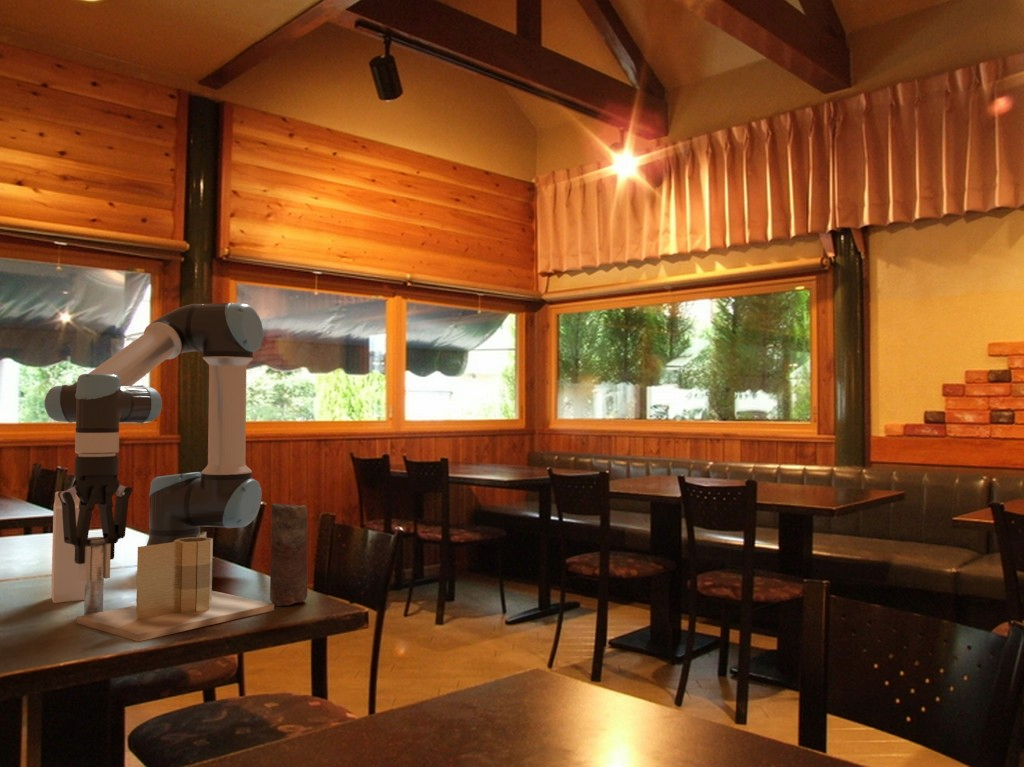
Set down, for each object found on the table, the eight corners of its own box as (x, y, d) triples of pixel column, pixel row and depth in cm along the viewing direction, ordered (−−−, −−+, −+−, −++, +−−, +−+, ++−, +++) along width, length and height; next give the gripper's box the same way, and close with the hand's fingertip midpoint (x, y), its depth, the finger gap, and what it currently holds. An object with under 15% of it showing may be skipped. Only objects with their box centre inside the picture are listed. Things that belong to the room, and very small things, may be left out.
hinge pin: (97, 609, 161) (99, 536, 162) (107, 612, 159) (109, 538, 159) (79, 613, 158) (80, 538, 159) (89, 616, 156) (90, 540, 157)
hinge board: (211, 596, 175) (211, 590, 175) (274, 610, 163) (274, 604, 163) (77, 623, 152) (77, 616, 152) (138, 641, 140) (138, 634, 140)
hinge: (203, 595, 170) (205, 531, 170) (238, 603, 163) (239, 536, 164) (112, 613, 154) (114, 542, 155) (147, 623, 148) (149, 548, 148)
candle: (268, 600, 172) (270, 502, 173) (304, 597, 175) (306, 501, 175) (271, 608, 165) (273, 506, 166) (309, 605, 168) (311, 504, 168)
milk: (86, 600, 171) (90, 491, 171) (52, 603, 167) (56, 492, 168) (83, 594, 176) (86, 488, 176) (50, 597, 172) (53, 490, 173)
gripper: (126, 452, 168) (124, 570, 168) (43, 455, 155) (40, 583, 154) (147, 453, 164) (145, 574, 163) (63, 457, 151) (60, 589, 150)
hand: (94, 578), depth 159 cm, fingers closed on hinge pin, 3 cm apart
